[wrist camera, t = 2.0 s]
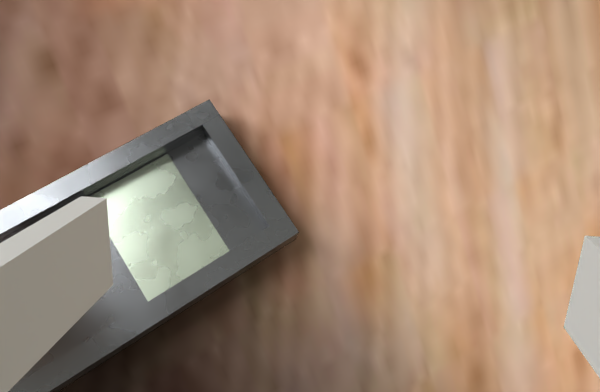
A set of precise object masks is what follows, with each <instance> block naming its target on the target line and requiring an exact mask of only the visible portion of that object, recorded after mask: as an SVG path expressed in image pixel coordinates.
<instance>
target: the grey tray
mask: <svg viewBox="0 0 600 392" xmlns="http://www.w3.org/2000/svg"><path fill="white" fill-rule="evenodd" d="M81 196H84V197H97V198H107V209H108V223H109V236H110V249H111V262H112V275H113V285H112V286H111V287H110V288H109V290H108V291H107V292H106V293H105V294H104V295H103V296H102V297H101V298H100V299H99V300H98V301H97V302H96V303H95V304H94V305H93V306H92V307H91V308H90V309H89V310H88V311H87V312H86V313H85V314H84V315H83V316H82V317H81V318H80V319H79V320H78V321H77V322H76V323H75V324H74V325H73V326H72V327H71V328H70V329H69V330H68V331H67V332H66V333H65V334H64V335H63V336H62V337H61V338H60V339H59V340H58V341H57V342H56V343H55V344H54V346H53V347H52V348H51V349H50V350H49V351H48V352H47V353H46V354H45V355H44V356H43V357H42V358H41V359H40V360H39V361H38V362H37V363H36V364H35V365H34V366H33V367H32V368H31V369H30V370H29V371H28V372H27V373H26V374H25V375H24V376H23V377H22V378H21V379H20V380H19V381H18V382H17V383H16V384H15V385H14V386H13V387H12V388H11V389H10V390H9V391H8V392H58V391H59V390H61V389H63V388H64V387H66V386H67V385H69V384H70V383H72V382H73V381H75V380H77V379H78V378H80V377H81V376H83V375H84V374H86V373H87V372H89V371H91V370H92V369H94V368H95V367H97V366H98V365H100V364H102V363H103V362H105V361H106V360H108V359H109V358H111V357H112V356H114V355H116V354H117V353H119V352H120V351H122V350H123V349H125V348H126V347H128V346H130V345H131V344H133V343H134V342H136V341H137V340H139V339H141V338H142V337H144V336H145V335H147V334H148V333H150V332H151V331H153V330H155V329H156V328H158V327H159V326H161V325H162V324H164V323H166V322H167V321H169V320H170V319H172V318H173V317H175V316H176V315H178V314H180V313H181V312H183V311H184V310H186V309H187V308H189V307H190V306H192V305H194V304H195V303H197V302H198V301H200V300H201V299H203V298H205V297H206V296H208V295H209V294H211V293H212V292H214V291H215V290H217V289H219V288H220V287H222V286H223V285H225V284H226V283H228V282H230V281H231V280H233V279H234V278H236V277H237V276H239V275H240V274H242V273H244V272H245V271H247V270H248V269H250V268H251V267H253V266H254V265H256V264H258V263H259V262H261V261H262V260H264V259H265V258H267V257H269V256H270V255H272V254H273V253H275V252H276V251H278V250H279V249H281V248H283V247H284V246H286V245H287V244H289V243H290V242H292V241H293V240H295V239H296V237H297V235H298V233H299V232H298V230H297V229H296V227H295V226H294V224H293V223H292V221H291V220H290V218H289V217H288V215H287V214H286V212H285V211H284V209H283V208H282V206H281V205H280V204H279V202H278V201H277V199H276V198H275V196H274V195H273V193H272V192H271V190H270V189H269V187H268V186H267V184H266V183H265V181H264V180H263V178H262V177H261V175H260V174H259V172H258V171H257V169H256V168H255V167H254V165H253V164H252V162H251V161H250V159H249V158H248V156H247V155H246V153H245V152H244V150H243V149H242V147H241V146H240V144H239V143H238V141H237V140H236V138H235V137H234V135H233V134H232V132H231V131H230V129H229V128H228V127H227V125H226V124H225V122H224V121H223V119H222V118H221V116H220V115H219V113H218V112H217V110H216V109H215V107H214V106H213V104H212V103H211V101H210V100H208V101H206V102H204V103H202V104H200V105H198V106H196V107H194V108H192V109H191V110H189V111H187V112H185V113H183V114H181V115H179V116H177V117H175V118H174V119H172V120H170V121H168V122H166V123H164V124H162V125H160V126H158V127H157V128H155V129H153V130H151V131H149V132H147V133H145V134H143V135H141V136H140V137H138V138H136V139H134V140H132V141H130V142H128V143H126V144H124V145H123V146H121V147H119V148H117V149H115V150H113V151H111V152H109V153H107V154H106V155H104V156H102V157H100V158H98V159H96V160H94V161H92V162H90V163H89V164H87V165H85V166H83V167H81V168H79V169H77V170H75V171H73V172H72V173H70V174H68V175H66V176H64V177H62V178H60V179H58V180H56V181H55V182H53V183H51V184H49V185H47V186H45V187H43V188H41V189H40V190H38V191H36V192H34V193H32V194H30V195H28V196H26V197H24V198H23V199H21V200H19V201H17V202H15V203H13V204H11V205H9V206H7V207H6V208H4V209H2V210H0V243H1V242H3V241H5V240H7V239H8V238H10V237H12V236H14V235H15V234H17V233H19V232H20V231H22V230H24V229H26V228H27V227H29V226H31V225H32V224H34V223H36V222H38V221H39V220H41V219H43V218H45V217H46V216H48V215H50V214H51V213H53V212H55V211H57V210H58V209H60V208H62V207H63V206H65V205H67V204H69V203H70V202H72V201H74V200H76V199H77V198H79V197H81Z"/></svg>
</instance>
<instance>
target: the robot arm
mask: <svg viewBox="0 0 600 392" xmlns="http://www.w3.org/2000/svg"><path fill="white" fill-rule="evenodd" d="M112 285H113V275H112V262H111V249H110V236H109V223H108V209H107V198H97V197H84V196H81V197H79V198H77V199H76V200H74V201H72V202H70V203H69V204H67V205H65V206H63V207H62V208H60V209H58V210H57V211H55V212H53V213H51V214H50V215H48V216H46V217H45V218H43V219H41V220H39V221H38V222H36V223H34V224H32V225H31V226H29V227H27V228H26V229H24V230H22V231H20V232H19V233H17V234H15V235H14V236H12V237H10V238H8V239H7V240H5V241H3V242H1V243H0V392H8V391H9V390H10V389H11V388H12V387H13V386H14V385H15V384H16V383H17V382H18V381H19V380H20V379H21V378H22V377H23V376H24V375H25V374H26V373H27V372H28V371H29V370H30V369H31V368H32V367H33V366H34V365H35V364H36V363H37V362H38V361H39V360H40V359H41V358H42V357H43V356H44V355H45V354H46V353H47V352H48V351H49V350H50V349H51V348H52V347H53V346H54V344H55V343H56V342H57V341H58V340H59V339H60V338H61V337H62V336H63V335H64V334H65V333H66V332H67V331H68V330H69V329H70V328H71V327H72V326H73V325H74V324H75V323H76V322H77V321H78V320H79V319H80V318H81V317H82V316H83V315H84V314H85V313H86V312H87V311H88V310H89V309H90V308H91V307H92V306H93V305H94V304H95V303H96V302H97V301H98V300H99V299H100V298H101V297H102V296H103V295H104V294H105V293H106V292H107V291H108V290H109V288H110V287H111V286H112ZM564 328H565V330H566V331H567V333H568V334H569V335H570V337H571V338H572V340H573V341H574V342H575V344H576V345H577V347H578V348H579V350H580V351H581V352H582V354H583V355H584V357H585V358H586V359H587V361H588V362H589V364H590V365H591V367H592V368H593V369H594V371H595V372H596V374H597V375H598V376H599V378H600V237H595V236H585V237H584V242H583V246H582V250H581V255H580V259H579V263H578V267H577V272H576V276H575V280H574V285H573V289H572V293H571V298H570V302H569V306H568V311H567V315H566V319H565V324H564Z"/></svg>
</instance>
